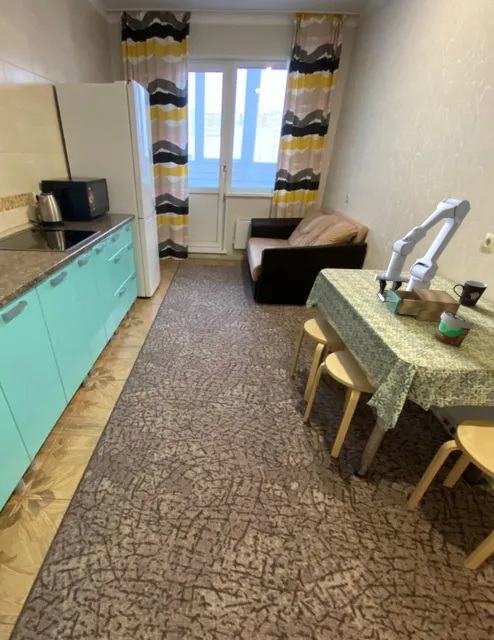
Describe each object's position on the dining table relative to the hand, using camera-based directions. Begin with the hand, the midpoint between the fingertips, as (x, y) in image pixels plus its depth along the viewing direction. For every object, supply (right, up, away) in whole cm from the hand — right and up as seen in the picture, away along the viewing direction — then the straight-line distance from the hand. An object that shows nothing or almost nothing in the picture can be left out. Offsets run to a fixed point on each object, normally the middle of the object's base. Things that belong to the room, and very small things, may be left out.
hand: (385, 295), depth 156 cm
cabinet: (+11, -10, -13) cm, 20 cm away
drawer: (-1, -8, -12) cm, 14 cm away
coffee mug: (+37, -4, 0) cm, 37 cm away
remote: (0, -1, +1) cm, 1 cm away
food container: (+4, -22, -33) cm, 40 cm away
